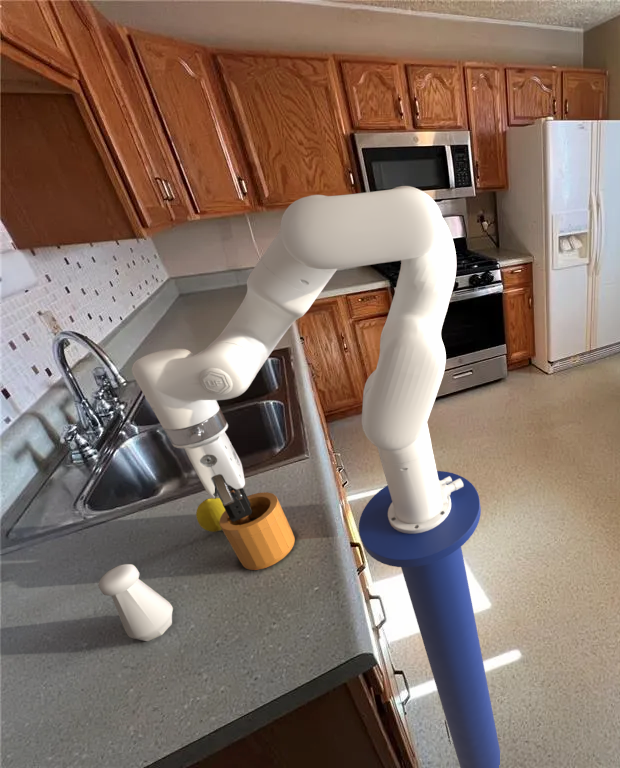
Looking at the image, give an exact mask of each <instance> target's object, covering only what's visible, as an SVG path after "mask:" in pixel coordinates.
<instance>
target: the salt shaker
mask: <svg viewBox="0 0 620 768" xmlns="http://www.w3.org/2000/svg"><path fill="white" fill-rule="evenodd" d="M139 577H140V572H139V570H138V568H137V567H136V566H135V565H134V564H132V563H124V564H119V565H117V566H115V567H113V568H111V569H109V570H108V571H107V572H105V573H104V574H103V575H102V576H101V578H100V579H99V581H98V584H97V586H98V589H99V591H100V592H101V593H102V594H103V595H104V596H110V597H111V599H112V601H113V603H114V606H115V608H116V612H117V614H118V616H119V619H120V622H121V623H122V626H123V629H124V632H125V633H126V635H127V636H128V638H131V639H135V640H140V641H145V642H149V641H151V640H154V639H156V638H159V637H161V636H163V634H164V633H166V631H167V630H168V629H169V628H170V627H171V626H172V625H173V611H174V607H173V605H172V604H171V602H169V601H168V600H167V599H166V598H164V597H163V596H162V595H161V594H159V593H158V592H157V591H156V590H154V589H153V588H151V586H149V585H148V584H146V583H145V582H144V581H142V580H141V579H140V578H139Z"/></svg>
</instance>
